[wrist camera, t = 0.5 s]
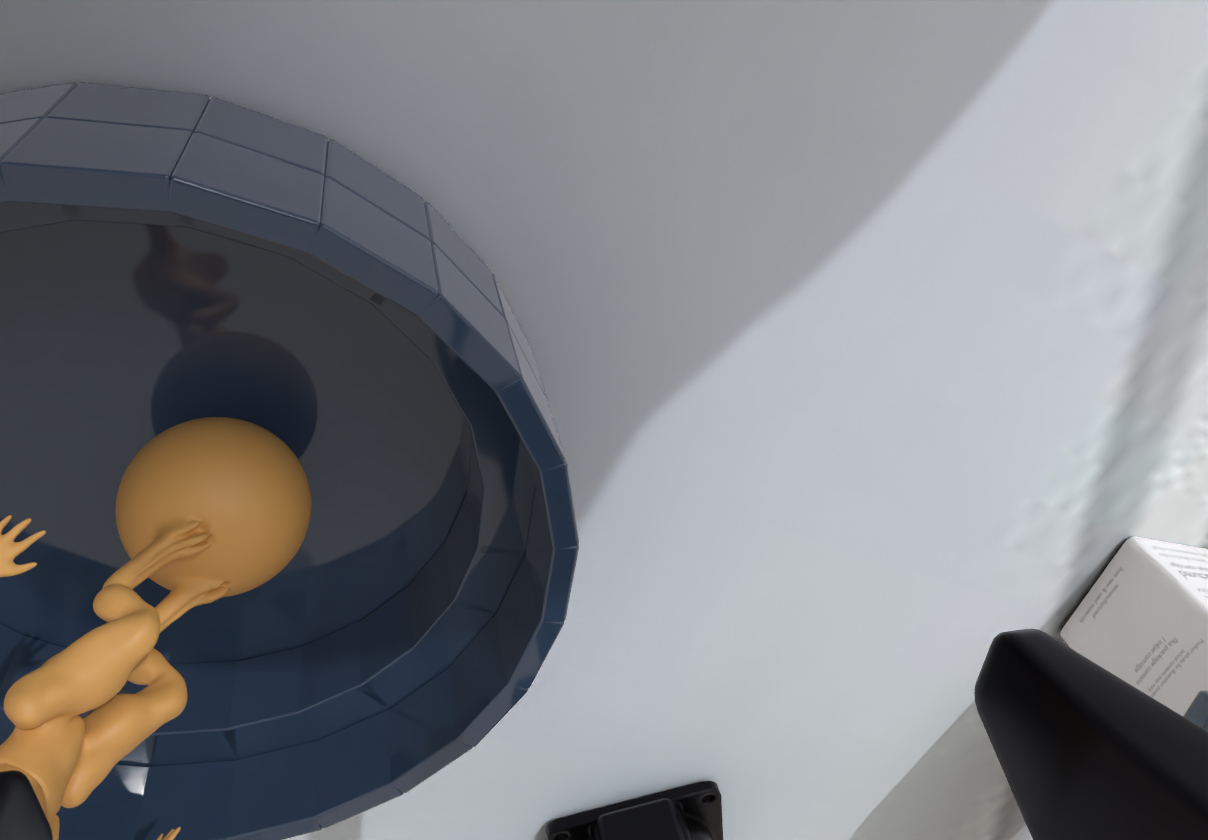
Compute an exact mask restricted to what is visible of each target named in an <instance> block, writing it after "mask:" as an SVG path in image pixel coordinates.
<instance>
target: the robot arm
mask: <svg viewBox="0 0 1208 840" xmlns="http://www.w3.org/2000/svg"><path fill="white" fill-rule="evenodd" d="M974 694H975V702H976V707H977V710H978V713H979V715H980V717H981V720H982V722H983V724H984V727H985V729H986V731H987V734H988V736H989V738H990V741H991V743H992V745H993V748H994V750H995V752H996V755H997V757H998V759H999V762H1000V764H1001V766H1002V769H1003V771H1004V773H1005V776H1006V778H1007V780H1008V783H1009V785H1010V787H1011V790H1012V792H1013V794H1014V797H1015V799H1016V801H1017V804H1018V806H1019V808H1020V811H1021V813H1022V815H1023V818H1024V820H1025V822H1026V825H1027V827H1028V829H1029V831H1030V833H1031V836H1032V838H1033V840H1208V731H1206V730H1204V729H1203V728H1201V727H1199V726H1198V725H1196V724H1195V723H1193V722H1191V721H1190V720H1188V719H1186V718H1185V717H1183V716H1181V715H1180V714H1178V713H1176V712H1175V711H1173V710H1171V709H1170V708H1168V707H1167V706H1165V705H1163V704H1162V703H1160V702H1158V701H1157V700H1155V699H1153V698H1152V697H1150V696H1148V695H1147V694H1145V693H1143V692H1142V691H1140V690H1139V689H1137V688H1135V687H1134V686H1132V685H1130V684H1129V683H1127V682H1125V681H1124V680H1122V679H1120V678H1119V677H1117V676H1115V675H1114V674H1112V673H1111V672H1109V671H1107V670H1106V669H1104V668H1102V667H1101V666H1099V665H1097V664H1096V663H1094V662H1092V661H1091V660H1089V659H1087V658H1086V657H1084V656H1083V655H1081V654H1079V653H1078V652H1076V651H1074V650H1073V649H1071V648H1069V647H1068V646H1066V645H1064V644H1063V643H1061V642H1059V641H1058V640H1056V639H1055V638H1053V637H1051V636H1050V635H1048V634H1046V633H1044V632H1042V631H1040V630H1037V629H1023V630H1016V631H1009V632H1003V633H1000V634H999V635H997V636H996V637H995V638H994V639H993V641H992V643H991V646H990V648H989V651H988V653H987V656H986V659H985V661H984V664H983V666H982V669H981V671H980V674H979V677H978V679H977V682H976V685H975V693H974ZM546 834H547V839H548V840H723V830H722V807H721V794H720V791H719V789H718V786H717V784H716V783H715V782H712V781H706V782H701V783H697V784H694V785H690V786H686V787H682V788H678V789H674V790H670V791H667V792H663V793H659V794H655V795H651V796H647V797H643V798H640V799H636V800H632V801H628V802H624V803H620V804H616V805H613V806H609V807H605V808H601V809H597V810H593V811H590V812H586V813H582V814H578V815H574V816H570V817H566V818H563V819H559V820H556V821H553V822H552V823H550V824H549V825H548V826H547V828H546ZM0 840H53V835H52V830H51V827H50V824H49V822H48V820H47V818H46V815H45V813H44V811H43V809H42V807H41V805H40V803H39V800H38V798H37V796H36V794H35V792H34V790H33V787H32V785H31V783H30V781H29V779H28V778H27V776H26V775H25V774H23V773H22V772H20V771H18V770H10V771H3V772H0Z"/></svg>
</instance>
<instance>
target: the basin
mask: <svg viewBox="0 0 1208 840" xmlns="http://www.w3.org/2000/svg"><path fill="white" fill-rule="evenodd" d="M206 417H228V418H235V419H240V420H244V421H248V422H251V423H253V424H256V425H258V426H260V427H262V428H264V429H266V430H268V431H270V432H271V433H273V434H274V435H276V436H277V437H278V438H280V439H281V440H282V441H283V442H284V443H285V444H286V445H287V446H288V447H289V448H290V449H291V450H292V451H293V453H294V454H295V455H296V457H297V458H298V460H299V461H300V463H301V465H302V467H303V469H304V471H305V474H306V476H307V479H308V483H309V487H310V492H311V516H310V522H309V526H308V530H307V533H306V535H305V538H304V540H303V542H302V544H301V546H300V548H299V550H298V551H297V553H296V554H295V556H294V557H293V558H292V560H291V561H290V562H289V563H288V564H287V565H286V566H285V567H284V568H283V569H282V570H281V571H280V572H279V573H278V574H277V575H275V576H274V577H273V578H272V579H270V580H269V581H267V582H265V583H264V584H262V585H260V586H258V587H256V588H254V589H252V590H250V591H247V592H244V593H241V594H238V595H234V596H229V597H222V598H220V599H218V600H215V601H213V602H211V603H208V604H202V605H198V606H195V607H193V608H191V609H190V610H188V611H187V612H186V613H184V614H183V615H182V616H181V617H179V618H178V619H177V620H175V621H174V622H172V623H171V624H170V625H169V626H168V627H167V628H165V629H164V630H163V631H162V632H161V633H160V634H159V637H158V640H157V643H156V644H155V646H154V649H156V650H157V651H159V652H160V653H161V654H162V655H163V656H164V657H165V659H166V660H167V661H168V663H169V664H170V665H171V666H172V667H173V668H174V669H176V670H177V671H178V672H179V673H180V674H181V676H182V677H183V678H184V680H185V683H186V687H187V696H188V697H187V703H186V706H185V708H184V710H183V711H182V713H181V714H180V715H179V716H177V717H176V718H174V719H172V720H170V721H168V722H167V723H165V724H163V725H162V726H161V727H159V728H158V729H157V730H156V731H155V732H153V733H152V734H151V735H150V736H149V737H148V738H146V739H145V740H144V741H143V742H142V743H140V744H139V745H138V746H137V747H136V748H135V749H134V750H132V751H131V752H130V753H129V754H127V755H126V756H125V757H124V758H122V759H121V760H120V761H119V762H118V763H117V764H116V765H115V766H114V767H113V768H112V770H111V771H110V772H109V774H108V775H107V776H106V778H105V779H104V780H103V781H102V782H101V783H100V784H99V785H98V786H97V787H96V788H95V789H94V790H93V791H92V792H91V794H90V795H89V796H88V798H87V799H86V800H85V801H84V802H83V803H82V804H80V805H79V806H77V807H74V808H65V807H63V806H61V807H60V810H59V811H58V812H57V813H56V815H57V816H58V817H59V823H60V826H59V839H58V840H157V839H158V837H159V836H160V835H161V834H162V833H163V837H162V839H161V840H163V839H164V837H165V836H166V835H167V834H168V833H169V832H170V831H171V830H172V829H175V830H176V829H177V828H178V827H181V829H180V831H179V832H178V834H177V835H176V837H175V838H174V840H283V839H287V838H291V837H295V836H299V835H302V834H306V833H310V832H314V831H318V830H321V829H322V828H327V827H329V826H332V825H334V824H336V823H338V822H341V821H343V820H345V819H348V818H350V817H352V816H355V815H357V814H359V813H362V812H364V811H366V810H368V809H371V808H373V807H375V806H378V805H380V804H382V803H385V802H387V801H389V800H392V799H394V798H396V797H399V796H401V795H402V794H403V793H407V792H408V791H410V790H411V789H413V788H414V787H415V786H417V785H418V784H420V783H421V782H423V781H424V780H426V779H427V778H429V777H430V776H432V775H433V774H435V773H436V772H438V771H439V770H441V769H442V768H444V767H445V766H447V765H448V764H450V763H451V762H453V761H454V760H456V759H457V758H459V757H460V756H462V755H463V754H464V753H466V752H467V751H469V750H470V749H472V747H475V746H476V745H477V744H478V743H479V742H480V741H481V740H482V739H483V738H484V737H485V735H486V734H487V733H488V732H489V731H490V730H491V729H492V728H493V727H494V726H495V725H496V724H497V723H498V722H499V721H500V720H501V719H502V718H503V716H504V715H505V714H506V713H507V712H508V711H509V710H510V709H511V708H512V707H513V706H514V705H515V704H516V703H517V702H518V701H519V700H520V699H521V698H522V696H523V695H524V694H525V693H526V692H527V691H528V688H530V686H531V684H532V682H533V680H534V678H535V676H536V675H537V673H538V671H539V669H540V667H541V665H542V663H543V662H544V660H545V658H546V656H547V654H548V652H549V650H550V649H551V647H552V645H553V643H554V641H555V639H556V637H557V636H558V634H559V632H560V630H561V628H562V626H563V624H564V621H565V619H566V614H567V608H568V603H569V598H570V592H571V587H572V582H573V576H574V571H575V566H576V560H577V555H578V549H579V545H578V544H579V538H578V531H577V525H576V518H575V511H574V505H573V498H572V492H571V485H570V479H569V472H568V466H567V462H566V458H565V455H564V452H563V449H562V446H561V442H560V439H559V436H558V433H557V429H556V426H555V423H554V420H553V417H552V413H551V410H550V407H549V404H548V400H547V397H546V394H545V391H544V387H543V384H542V381H541V378H540V375H539V371H538V368H537V365H536V362H535V359H534V355H533V352H532V349H531V347H530V345H529V343H528V341H527V339H526V337H525V335H524V333H523V331H522V329H521V327H520V325H519V323H518V321H517V319H516V317H515V315H514V313H513V311H512V309H511V307H510V305H509V303H508V301H507V299H506V297H505V295H504V293H503V291H502V289H501V287H500V285H499V283H498V281H497V279H496V277H495V275H494V274H492V273H491V270H490V269H489V268H488V267H487V266H486V265H485V264H484V263H483V262H482V261H481V260H480V258H479V257H478V256H477V255H476V254H475V253H474V252H473V251H472V250H471V249H470V248H469V247H468V245H467V244H466V243H465V242H464V241H463V240H462V239H461V238H460V237H459V236H458V235H457V233H456V232H455V231H454V230H453V229H452V228H451V227H450V226H449V225H448V224H447V223H446V222H445V220H444V219H443V218H442V217H441V216H440V215H439V214H438V213H437V212H436V211H435V210H434V208H433V207H432V206H431V205H430V204H429V203H427V202H424V200H423V198H422V197H421V196H419V195H417V194H416V193H414V192H413V191H411V190H410V189H408V188H407V187H405V186H404V185H402V184H400V183H399V182H397V181H396V180H394V179H393V178H391V177H390V176H388V175H386V174H385V173H383V172H382V171H380V170H379V169H377V168H376V167H374V166H373V165H371V164H369V163H368V162H366V161H365V160H363V159H362V158H360V157H359V156H357V155H356V154H354V153H352V152H351V151H349V150H348V149H346V148H345V147H343V146H342V145H340V144H339V143H337V142H335V141H334V140H328V138H326V137H325V136H323V135H320V134H317V133H315V132H312V131H309V130H306V129H303V128H300V127H297V126H295V125H292V124H289V123H286V122H283V121H280V120H277V119H275V118H272V117H269V116H266V115H263V114H260V113H257V112H254V111H252V110H249V109H246V108H243V107H240V106H237V105H234V104H232V103H229V102H226V101H223V100H220V99H217V98H211V99H210V98H209V96H207V95H200V94H191V93H181V92H171V91H161V90H151V89H141V88H131V87H121V86H112V85H102V84H92V83H79V84H77V83H68V84H62V85H55V86H48V87H42V88H35V89H29V90H22V91H15V92H9V93H2V94H0V522H1V521H2V520H3V519H4V518H6V517H7V516H9V515H11V516H12V518H11V520H10V521H9V522H8V523H7V525H6V526H5V527H4V528H3V530H2V532H1V534H2V535H4V534H6V533H8V532H9V531H10V530H11V529H12V528H13V527H15V526H16V525H17V524H19V523H20V522H22V521H24V520H25V519H28V518H31V522H30V524H29V525H28V526H26V527H25V528H24V529H23V530H22V531H21V532H20V534H19V535H18V536H17V537H16V538H15V539H14V541H13V542H20V541H23V540H25V539H26V538H28V537H30V536H32V535H34V534H36V533H38V532H40V531H43V530H45V531H46V533H45V535H44V536H42V537H41V538H39V539H38V540H36V541H35V542H34V543H33V544H32V545H30V546H29V547H28V548H27V549H26V550H24V551H23V552H22V553H20V554H19V555H18V556H16V557H15V558H14V560H13V562H14V563H15V564H17V565H23V564H27V563H32V562H35V563H37V565H36V566H35V567H34V568H32V569H30V570H28V571H26V572H24V573H21V574H18V575H14V576H9V577H0V745H1V744H2V743H3V742H5V741H6V740H7V739H8V738H9V736H10V735H11V734H12V732H13V731H14V729H15V725H14V724H13V723H12V722H11V720H10V719H9V718H8V717H7V716H6V714H5V711H4V699H5V696H6V693H7V692H8V690H9V689H10V687H11V686H12V685H13V684H14V683H15V682H16V681H17V680H19V679H20V678H22V677H23V676H25V675H27V674H28V673H30V672H32V671H34V670H36V669H38V668H40V667H41V666H42V665H43V664H44V663H45V662H46V661H47V660H48V659H50V658H51V657H53V656H55V655H56V654H58V653H60V652H61V651H63V650H64V649H66V648H67V647H68V646H70V645H71V644H72V643H74V642H75V641H76V640H78V639H79V638H80V637H82V636H83V635H85V634H86V633H88V632H90V631H91V630H93V629H95V628H97V627H99V626H101V625H104V624H106V623H108V622H106V621H104V620H103V619H101V618H100V617H98V616H97V615H96V613H95V612H94V610H93V601H94V599H95V597H96V595H97V594H98V593H99V592H100V591H101V590H102V588H103V585H104V583H105V582H106V581H107V579H108V578H109V577H110V576H111V575H112V574H114V573H115V572H116V571H117V570H118V569H120V568H121V567H122V566H123V565H125V564H126V563H127V562H128V561H130V560H131V558H130V557H129V555H128V554H127V552H126V550H125V548H124V546H123V544H122V542H121V539H120V536H119V533H118V529H117V523H116V498H117V493H118V489H119V485H120V482H121V480H122V477H123V475H124V473H125V471H126V469H127V467H128V465H129V464H130V462H131V461H132V459H133V458H134V457H135V455H136V454H137V453H138V452H139V451H140V450H141V449H142V447H144V446H145V445H146V444H147V443H148V442H149V441H150V440H151V439H153V438H154V437H155V436H157V435H158V434H160V433H161V432H163V431H165V430H167V429H169V428H171V427H173V426H175V425H177V424H180V423H183V422H186V421H190V420H194V419H199V418H206ZM132 590H133V591H135V592H136V593H137V594H138V595H139V596H140V597H141V598H142V599H143V600H144V601H145V602H146V603H148V604H149V605H151V606H153V607H154V608H155V607H156V606H157V605H158V604H159V603H160V602H161V601H162V600H163V599H164V598H165V597H167V596H168V595H169V593H170V592H171V590H169V589H166V588H164V587H162V586H161V585H159V584H157V583H156V582H154V581H153V580H151V579H150V578H149V577H148V578H147V579H145V580H144V581H143V582H141V583H140V584H139V585H138V586H136V587H135V588H133V589H132ZM147 686H148V685H138V684H134V683H132V682H130V681H128V680H127V682H126V683H125V685H124V686H123V688H122V689H121V690H120V691H119V692H118V693H117V694H116V695H118V694H135V693H137V692H139V691H141V690H143V689H144V688H146V687H147ZM93 710H94V709H93ZM93 710H90V711H88V712H85V713H82V714H79V716H80V717H82V719H84V718H85V717H86V716H87V715H89V714H90V713H91V712H92V711H93Z"/></svg>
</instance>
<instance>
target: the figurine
mask: <svg viewBox="0 0 1208 840" xmlns="http://www.w3.org/2000/svg"><path fill="white" fill-rule="evenodd" d="M310 516H311V492H310V487H309V483H308V479H307V476H306V474H305V471H304V469H303V467H302V465H301V463H300V461H299V460H298V458H297V457H296V455H295V454H294V453H293V451H292V450H291V449H290V448H289V447H288V446H287V445H286V444H285V443H284V442H283V441H282V440H281V439H280V438H278V437H277V436H276V435H274V434H273V433H271V432H270V431H268V430H266V429H264V428H262V427H260V426H258V425H256V424H253V423H251V422H248V421H244V420H240V419H235V418H228V417H206V418H199V419H194V420H190V421H186V422H183V423H180V424H177V425H175V426H173V427H171V428H169V429H167V430H165V431H163V432H161V433H160V434H158V435H157V436H155V437H154V438H153V439H151V440H150V441H149V442H148V443H147V444H146V445H145V446H144V447H142V449H141V450H140V451H139V452H138V453H137V454H136V455H135V457H134V458H133V459H132V461H131V462H130V464H129V465H128V467H127V469H126V471H125V473H124V475H123V477H122V480H121V482H120V485H119V489H118V493H117V498H116V523H117V529H118V533H119V536H120V539H121V542H122V544H123V546H124V548H125V550H126V552H127V554H128V555H129V557H130V558H131V560H130V561H128V562H127V563H126V564H125V565H123V566H122V567H121V568H120V569H118V570H117V571H116V572H115V573H114V574H112V575H111V576H110V577H109V578H108V579H107V581H106V582H105V583H104V585H103V588H102V590H101V591H100V592H99V593H98V594H97V595H96V597H95V599H94V601H93V610H94V612H95V613H96V615H97V616H98V617H100V618H101V619H103V620H104V621H106V622H108V623H106V624H104V625H101V626H99V627H97V628H95V629H93V630H91V631H90V632H88V633H86V634H85V635H83V636H82V637H80V638H79V639H78V640H76V641H75V642H74V643H72V644H71V645H70V646H68V647H67V648H66V649H64V650H63V651H61V652H60V653H58V654H56V655H55V656H53V657H51V658H50V659H48V660H47V661H46V662H45V663H44V664H43V665H42V666H41V667H40V668H38V669H36V670H34V671H32V672H30V673H28V674H27V675H25V676H23V677H22V678H20V679H19V680H17V681H16V682H15V683H14V684H13V685H12V686H11V687H10V689H9V690H8V692H7V693H6V696H5V699H4V711H5V714H6V716H7V717H8V718H9V719H10V720H11V722H12V723H13V724H14V725H15V729H14V731H13V732H12V734H11V735H10V736H9V738H8V739H7V740H6V741H5V742H3V743H2V744H1V745H0V772H3V771H10V770H18V771H20V772H22V773H23V774H25V775H26V776H27V778H28V779H29V781H30V783H31V785H32V787H33V790H34V792H35V794H36V796H37V798H38V800H39V803H40V805H41V807H42V809H43V811H44V813H45V815H46V818H47V820H48V822H49V824H50V827H51V830H52V835H53V840H58V839H59V826H60V823H59V817H58V816H57V815H56V813H57V812H58V811H59V810H60V807H61V806H63V807H65V808H74V807H77V806H79V805H80V804H82V803H83V802H84V801H85V800H86V799H87V798H88V796H89V795H90V794H91V792H92V791H93V790H94V789H95V788H96V787H97V786H98V785H99V784H100V783H101V782H102V781H103V780H104V779H105V778H106V776H107V775H108V774H109V772H110V771H111V770H112V768H113V767H114V766H115V765H116V764H117V763H118V762H119V761H120V760H121V759H122V758H124V757H125V756H126V755H127V754H129V753H130V752H131V751H132V750H134V749H135V748H136V747H137V746H138V745H139V744H140V743H142V742H143V741H144V740H145V739H146V738H148V737H149V736H150V735H151V734H152V733H153V732H155V731H156V730H157V729H158V728H159V727H161V726H162V725H163V724H165V723H167V722H168V721H170V720H172V719H174V718H176V717H177V716H179V715H180V714H181V713H182V711H183V710H184V708H185V706H186V703H187V697H188V696H187V687H186V683H185V680H184V678H183V677H182V676H181V674H180V673H179V672H178V671H177V670H176V669H174V668H173V667H172V666H171V665H170V664H169V663H168V661H167V660H166V659H165V657H164V656H163V655H162V654H161V653H160V652H159V651H157V650H156V649H154V646H155V644H156V643H157V640H158V637H159V634H160V633H161V632H162V631H163V630H164V629H165V628H167V627H168V626H169V625H170V624H171V623H172V622H174V621H175V620H177V619H178V618H179V617H181V616H182V615H183V614H184V613H186V612H187V611H188V610H190V609H191V608H193V607H195V606H198V605H202V604H208V603H211V602H213V601H215V600H218V599H220V598H222V597H229V596H234V595H238V594H241V593H244V592H247V591H250V590H252V589H254V588H256V587H258V586H260V585H262V584H264V583H265V582H267V581H269V580H270V579H272V578H273V577H274V576H275V575H277V574H278V573H279V572H280V571H281V570H282V569H283V568H284V567H285V566H286V565H287V564H288V563H289V562H290V561H291V560H292V558H293V557H294V556H295V554H296V553H297V551H298V550H299V548H300V546H301V544H302V542H303V540H304V538H305V535H306V533H307V530H308V526H309V522H310ZM11 518H12V516H11V515H9V516H7V517H6V518H4V519H3V520H2V521H1V522H0V577H9V576H14V575H18V574H21V573H24V572H26V571H28V570H30V569H32V568H34V567H35V566H36V565H37V563H35V562H32V563H27V564H23V565H17V564H15V563H14V562H13V560H14V558H15V557H16V556H18V555H19V554H20V553H22V552H23V551H24V550H26V549H27V548H28V547H29V546H30V545H32V544H33V543H34V542H35V541H36V540H38V539H39V538H41V537H42V536H44V535H45V533H46V531H45V530H43V531H40V532H38V533H36V534H34V535H32V536H30V537H28V538H26V539H25V540H23V541H20V542H13V541H14V539H15V538H16V537H17V536H18V535H19V534H20V532H21V531H22V530H23V529H24V528H25V527H26V526H28V525H29V524H30V522H31V518H28V519H25V520H24V521H22V522H20V523H19V524H17V525H16V526H15V527H13V528H12V529H11V530H10V531H9V532H8V533H6V534H4V535H2V534H1V532H2V530H3V528H4V527H5V526H6V525H7V523H8V522H9V521H10V520H11ZM148 577H149V578H150V579H151V580H153V581H154V582H156V583H157V584H159V585H161V586H162V587H164V588H166V589H169V590H171V592H170V593H169V595H168V596H167V597H165V598H164V599H163V600H162V601H161V602H160V603H159V604H158V605H157V606H156V607H155V608H154V607H153V606H151V605H149V604H148V603H146V602H145V601H144V600H143V599H142V598H141V597H140V596H139V595H138V594H137V593H136V592H135V591H133V590H132V589H133V588H135V587H136V586H138V585H139V584H140V583H141V582H143V581H144V580H145V579H147V578H148ZM127 680H128V681H130V682H132V683H134V684H138V685H148V686H147V687H146V688H144V689H143V690H141V691H139V692H137V693H135V694H118V695H116V694H117V693H118V692H119V691H120V690H121V689H122V688H123V686H124V685H125V683H126V682H127ZM93 709H94V710H93ZM90 710H93V711H92V712H91V713H90V714H89V715H87V716H86V717H85V718H84V719H82V717H80V716H79V714H82V713H85V712H88V711H90ZM180 829H181V827H178V828H177V829H176V830H175V829H172V830H171V831H170V832H169V833H168V834H167V835H166V836H165V837H164V839H163V840H174V838H175V837H176V835H177V834H178V832H179V831H180ZM162 837H163V833H162V834H161V835H160V836H159V837H158V839H157V840H161V839H162Z"/></svg>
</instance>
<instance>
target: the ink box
mask: <svg viewBox="0 0 1208 840" xmlns="http://www.w3.org/2000/svg"><path fill="white" fill-rule="evenodd" d="M1060 636H1061V637H1062V638H1063V640H1064V641H1065V642H1066V643H1067V644H1068V646H1069V647H1070V648H1071V649H1073V650H1074V651H1076V652H1078V653H1079V654H1081V655H1083V656H1084V657H1086V658H1087V659H1089V660H1091V661H1092V662H1094V663H1096V664H1097V665H1099V666H1101V667H1102V668H1104V669H1106V670H1107V671H1109V672H1111V673H1112V674H1114V675H1115V676H1117V677H1119V678H1120V679H1122V680H1124V681H1125V682H1127V683H1129V684H1130V685H1132V686H1134V687H1135V688H1137V689H1139V690H1140V691H1142V692H1143V693H1145V694H1147V695H1148V696H1150V697H1152V698H1153V699H1155V700H1157V701H1158V702H1160V703H1162V704H1163V705H1165V706H1167V707H1168V708H1170V709H1171V710H1173V711H1175V712H1176V713H1178V714H1180V715H1181V716H1183V717H1185V718H1186V719H1188V720H1190V721H1191V722H1193V723H1195V724H1196V725H1198V726H1199V727H1201V728H1203V729H1204V730H1206V731H1208V549H1205V548H1198V547H1192V546H1187V545H1181V544H1175V543H1170V542H1164V541H1159V540H1153V539H1148V538H1142V537H1136V536H1134V537H1130V538H1129V539H1127V540H1126V541H1125V543H1124V544H1123V545H1122V547H1121V548H1120V549H1119V551H1118V552H1117V554H1116V555H1115V556H1114V558H1113V559H1112V560H1111V562H1110V563H1109V564H1108V566H1107V567H1106V569H1105V570H1104V572H1103V573H1102V575H1101V576H1100V577H1099V579H1098V580H1097V581H1096V583H1095V584H1094V585H1093V587H1092V588H1091V590H1090V591H1089V592H1088V594H1087V595H1086V596H1085V598H1084V599H1083V601H1082V602H1081V603H1080V605H1079V606H1078V607H1077V609H1076V610H1075V612H1074V613H1073V614H1072V616H1071V617H1070V619H1069V620H1068V621H1067V623H1066V624H1065V626H1064V627H1063V628H1062V630H1061V632H1060Z"/></svg>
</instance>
